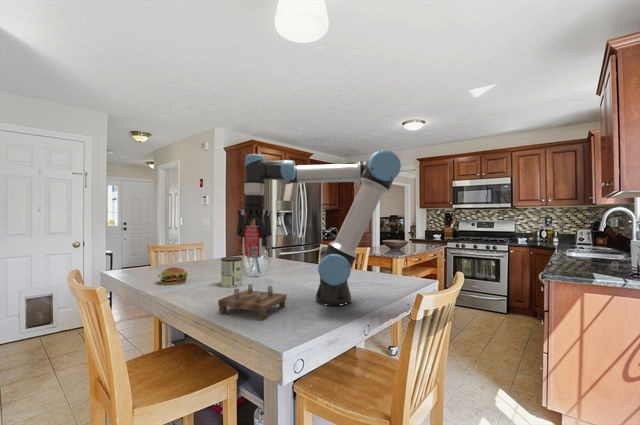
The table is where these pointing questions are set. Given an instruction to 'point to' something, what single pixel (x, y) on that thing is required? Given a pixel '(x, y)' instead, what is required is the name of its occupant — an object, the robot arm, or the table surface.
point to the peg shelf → (252, 301)
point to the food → (173, 276)
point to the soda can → (251, 242)
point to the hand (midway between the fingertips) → (253, 254)
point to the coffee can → (231, 271)
